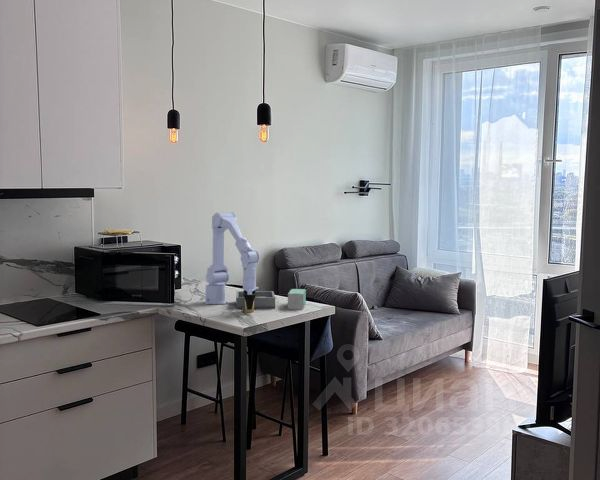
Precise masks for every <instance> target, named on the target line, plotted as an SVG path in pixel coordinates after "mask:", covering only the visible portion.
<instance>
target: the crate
mask: <svg viewBox="0 0 600 480" xmlns="http://www.w3.org/2000/svg"><path fill="white" fill-rule="evenodd" d="M243 294H244V292H243V291H242V290H241V291H239V290H237V291H236V295H235V296H236V297H235V309H245V298H244V296H243ZM255 294H256V296H255V299H254V309H276V295H275V292H274V291H273V290H271V291H267V290H261V291H260V290H258V291H257V290H256V292H255Z"/></svg>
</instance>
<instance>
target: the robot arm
mask: <svg viewBox="0 0 600 480" xmlns="http://www.w3.org/2000/svg"><path fill="white" fill-rule="evenodd" d="M211 217H212V218H211V229H212V264H211V265H209V266H208V267H207V271H206V276H205V278H206V282H207V283H208V284H205V296H204V300H205V303H204V304H205V305H226V302H227V300H226V285H227V283H228V282H229V280H230V274H229V269H228V268H229V267H227V266H226V265H225V232H226V230H228V231H229V233H230V234H231V235H232V237H233V239H234V240H235V244H234V245H235V247H236V248H237V251H238V252H239V254H240V255H241V256H240V262H241V266H242V270H243V272H242V273H243V275H242V276H243V277H242V278H243V280H242V281H243V283H242V290H243V292H244V294H243V296H244V298H245V301H246V306H247V310H252V307H253V302H254V299H255V296H256V294H255V292H256V291H257V290H259V286H257V263H259V260H260V254H259V252H258V251H257V250H255V249H254V248H253V247H252V246H251V244H250V242H249V241H248V239H247V238H246V237H243V234H242V232H241V230H240V228H239V226H238V218H237V216H236V213H234V212H233V211H231V212H215V213H214V214H213V215H212V216H211Z"/></svg>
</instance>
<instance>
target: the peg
mask: <svg viewBox="0 0 600 480" xmlns="http://www.w3.org/2000/svg"><path fill="white" fill-rule="evenodd" d="M252 312H253V313H254V312H255V308H254V302H253V307H252V310H247V306H246V301H245V308H244V313H246V314H251V313H252Z"/></svg>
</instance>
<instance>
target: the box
mask: <svg viewBox="0 0 600 480" xmlns="http://www.w3.org/2000/svg"><path fill="white" fill-rule="evenodd" d="M306 292H307V289H305V288H291V289H290V290H289V292H288V293H287V309H288V310H303V309H304V308H305V306H306V304H307V302H306V301H307V299H306V298H307V297H306V295H307V293H306Z"/></svg>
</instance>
